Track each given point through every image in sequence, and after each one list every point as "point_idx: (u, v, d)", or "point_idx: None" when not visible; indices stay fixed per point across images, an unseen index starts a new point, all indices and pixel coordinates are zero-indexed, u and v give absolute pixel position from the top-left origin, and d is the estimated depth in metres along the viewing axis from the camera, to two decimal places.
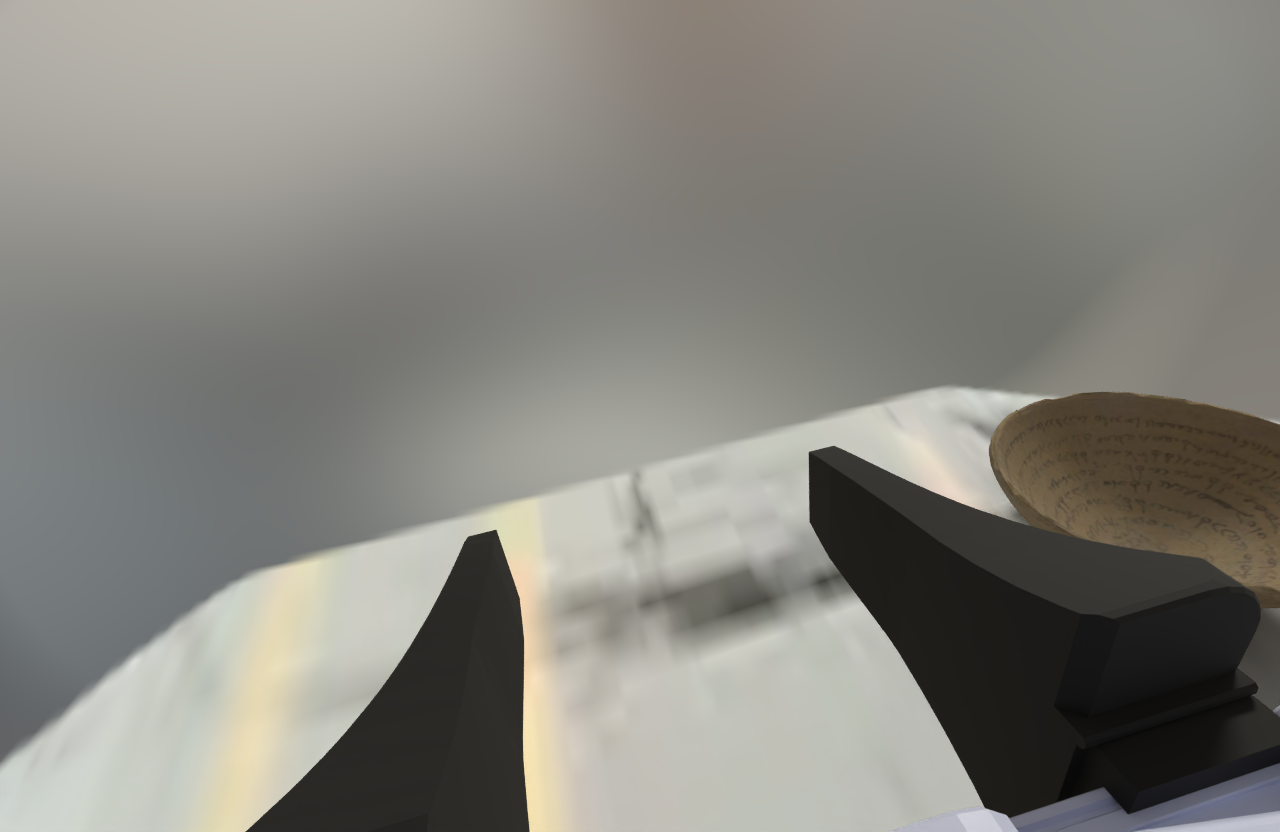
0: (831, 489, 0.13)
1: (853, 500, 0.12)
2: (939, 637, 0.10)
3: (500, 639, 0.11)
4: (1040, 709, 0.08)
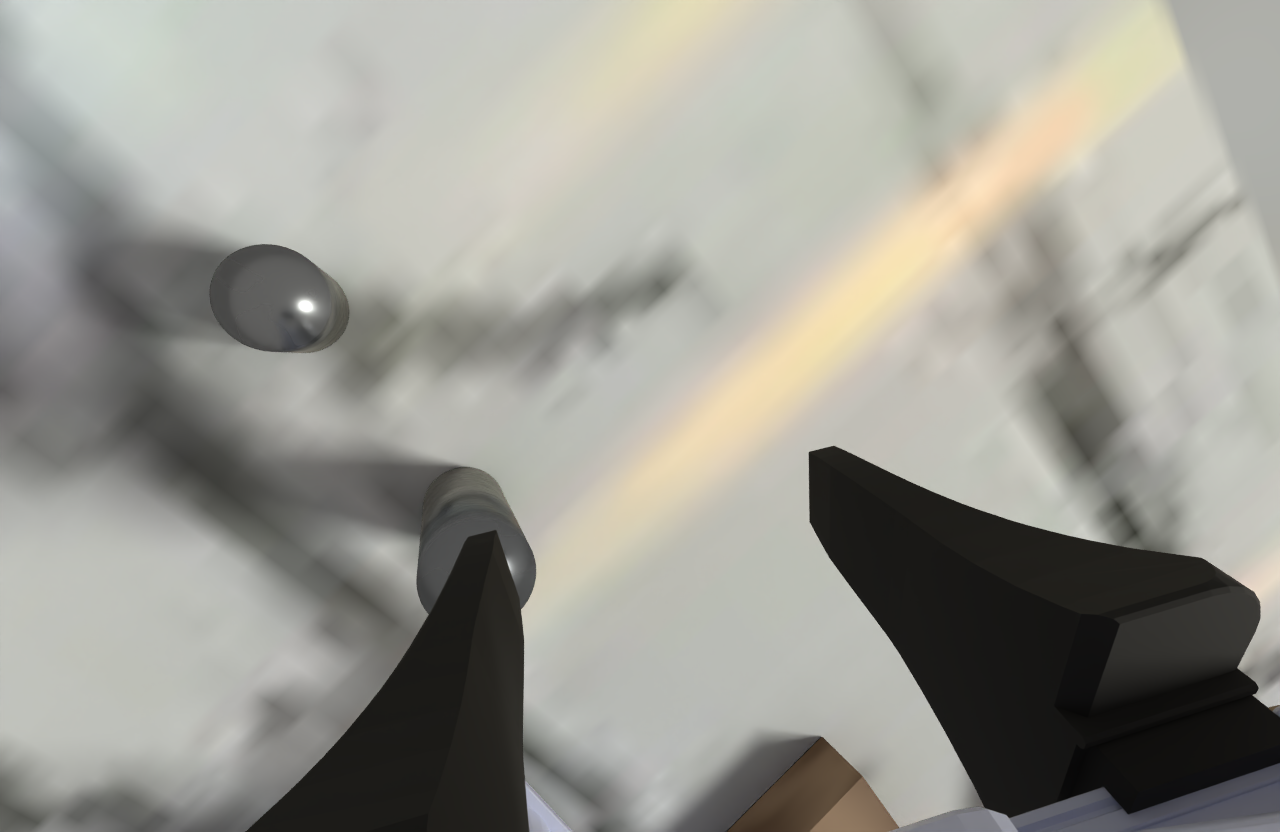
0: (831, 489, 0.13)
1: (853, 500, 0.12)
2: (939, 637, 0.10)
3: (500, 639, 0.11)
4: (1040, 709, 0.08)
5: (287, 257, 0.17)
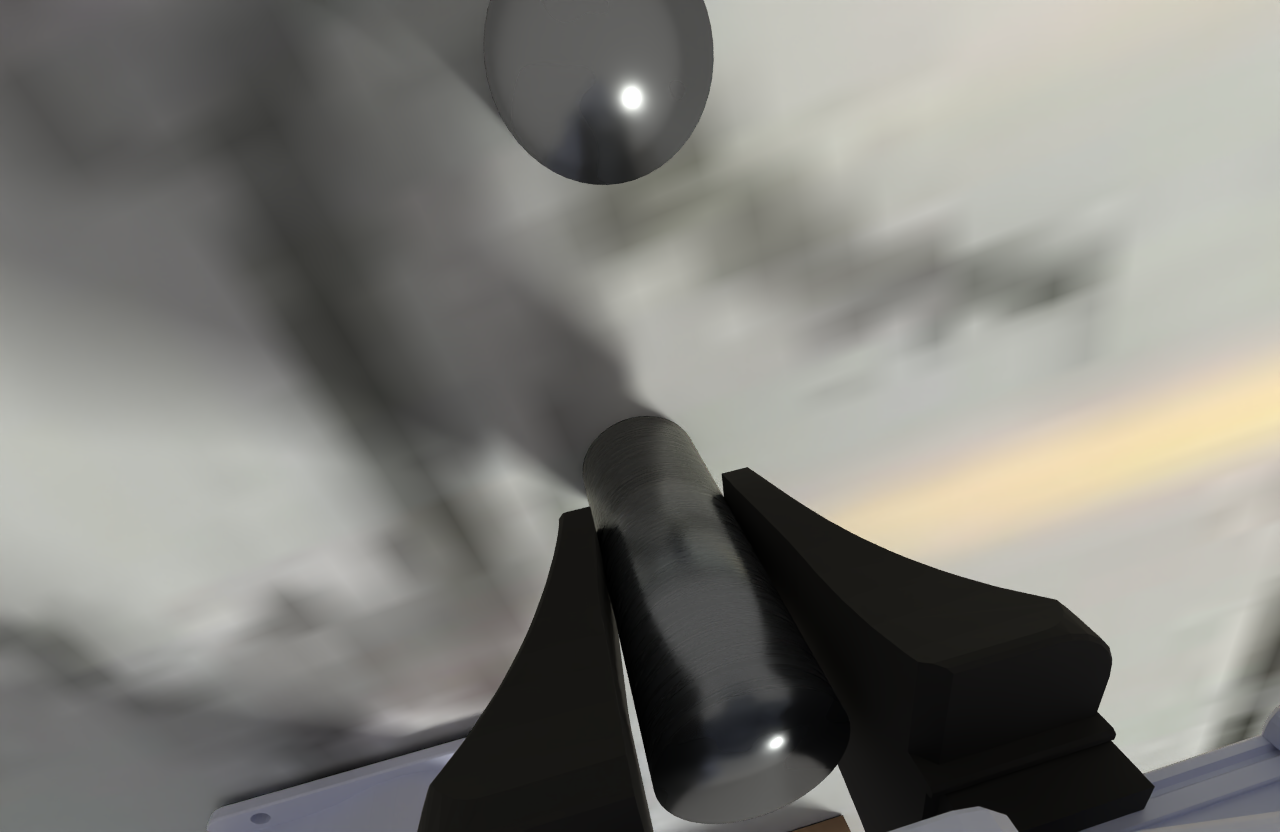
0: (739, 512, 0.13)
1: (755, 525, 0.12)
2: (826, 670, 0.10)
3: (607, 611, 0.11)
4: (898, 753, 0.08)
5: None
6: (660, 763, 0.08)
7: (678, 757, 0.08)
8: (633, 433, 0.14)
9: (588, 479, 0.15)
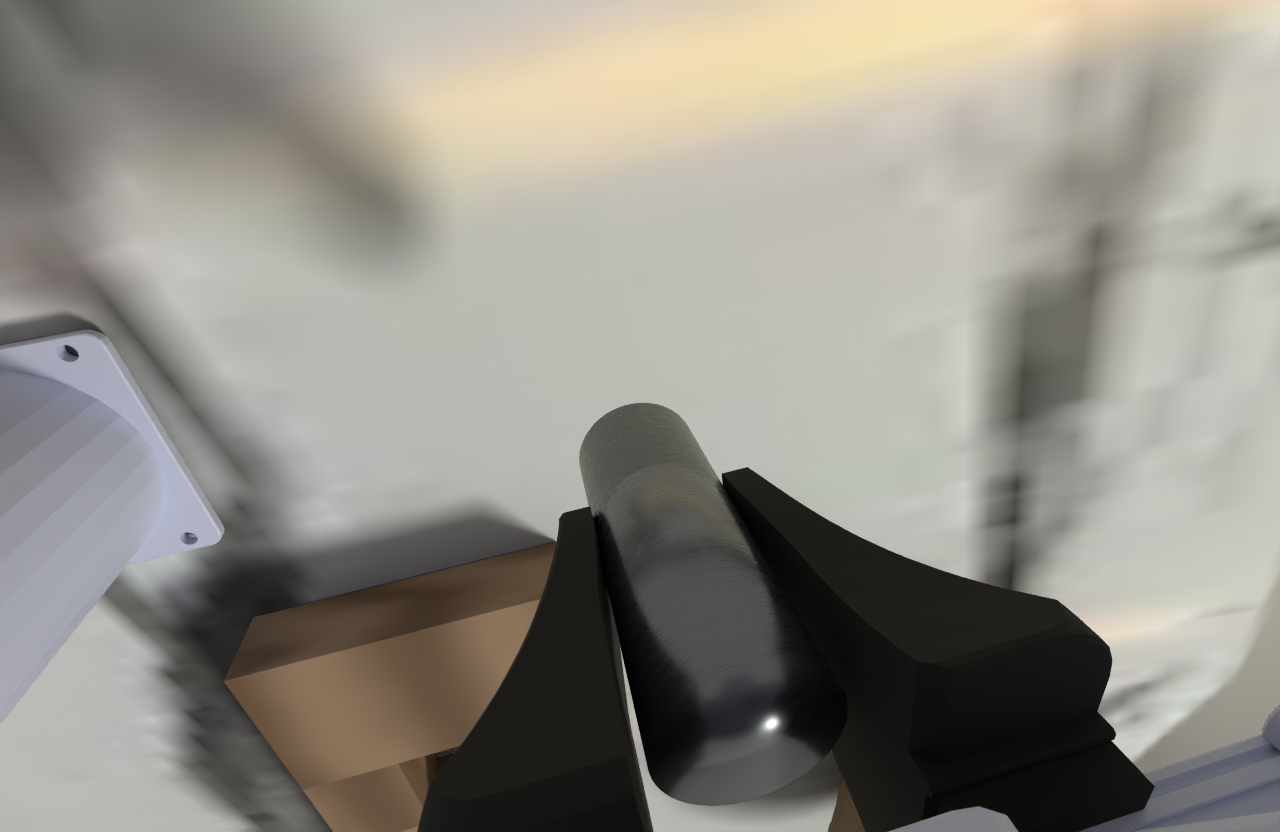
0: (739, 512, 0.13)
1: (755, 525, 0.12)
2: None
3: (608, 611, 0.11)
4: (898, 753, 0.08)
5: None
6: (650, 752, 0.08)
7: (668, 744, 0.08)
8: (620, 422, 0.14)
9: (583, 474, 0.14)
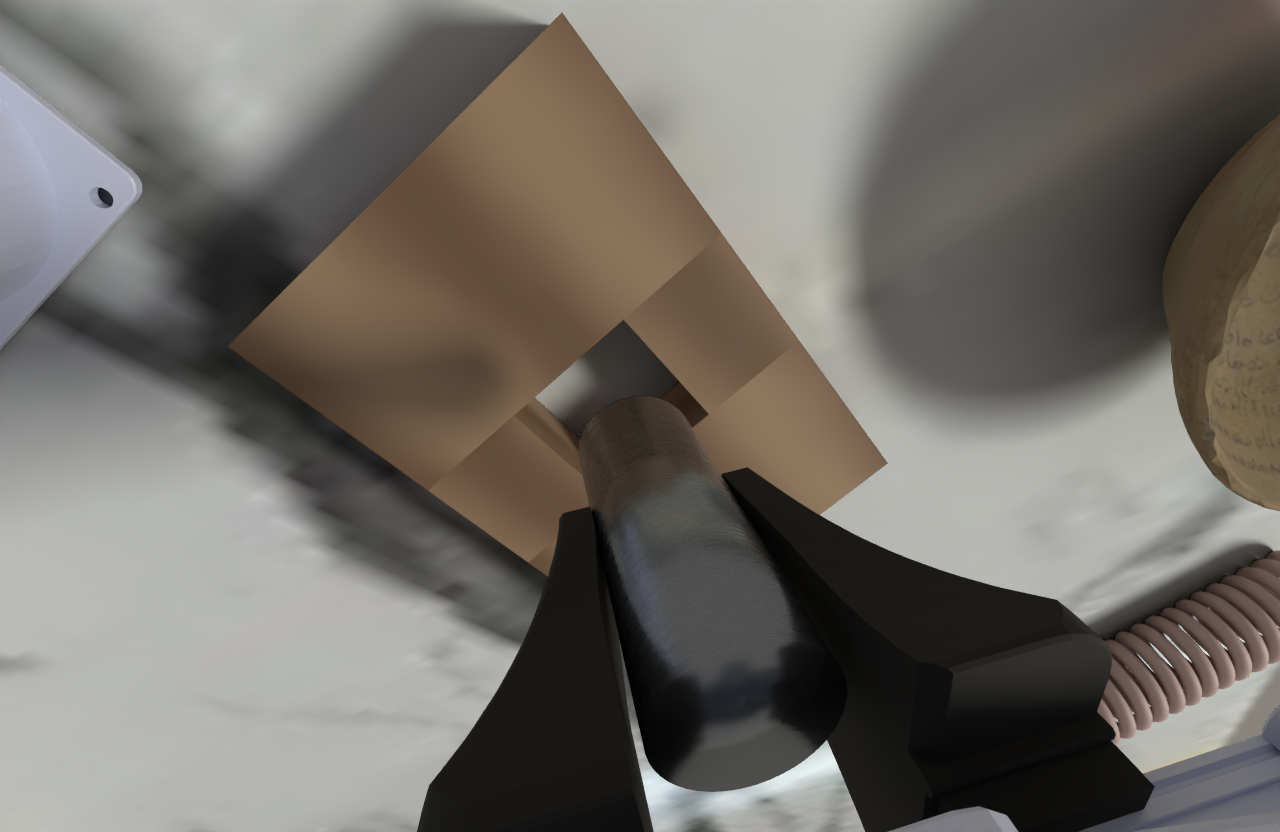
0: None
1: (755, 525, 0.12)
2: None
3: (607, 611, 0.11)
4: (899, 753, 0.08)
5: None
6: (649, 723, 0.08)
7: (667, 717, 0.08)
8: (626, 412, 0.14)
9: (583, 460, 0.14)
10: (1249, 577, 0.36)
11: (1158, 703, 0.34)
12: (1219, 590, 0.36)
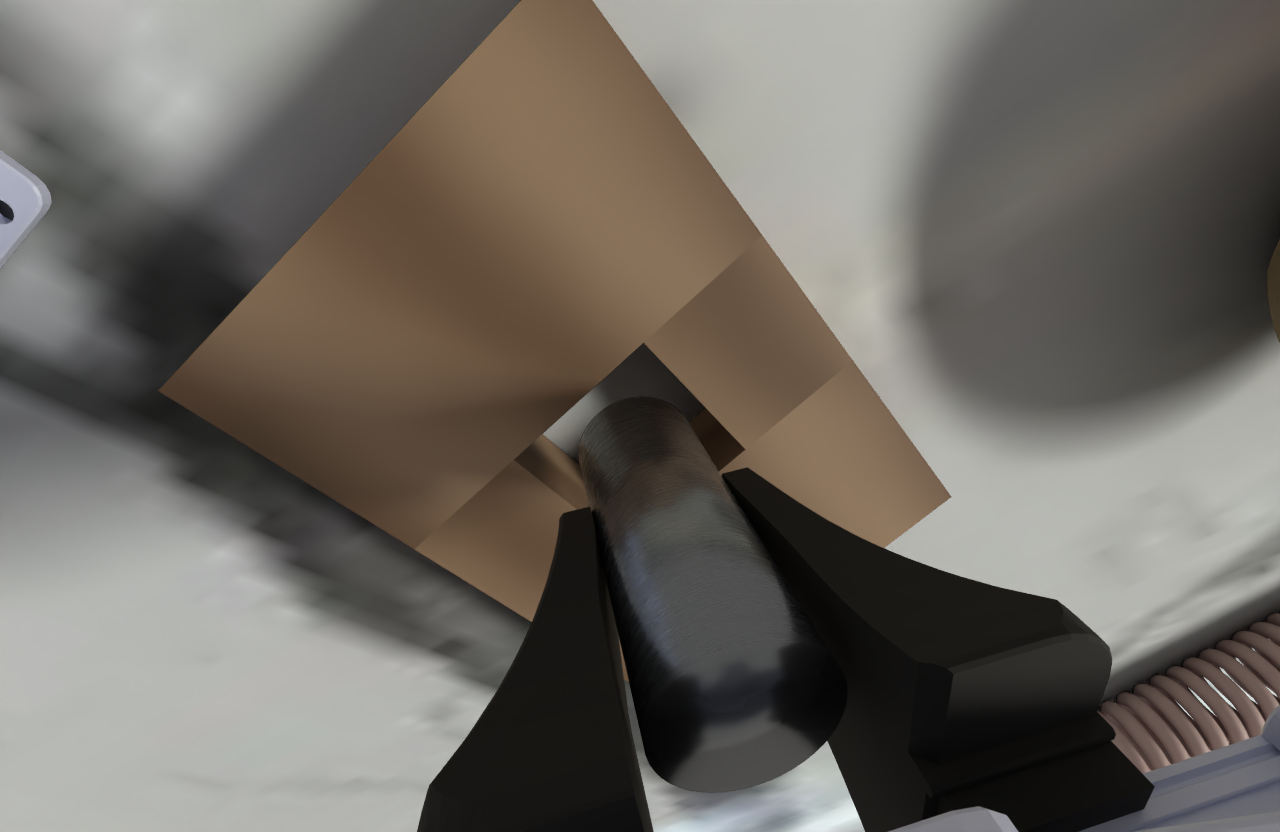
0: None
1: (755, 525, 0.12)
2: None
3: (608, 610, 0.11)
4: (898, 753, 0.08)
5: None
6: (649, 724, 0.08)
7: (668, 718, 0.08)
8: (626, 412, 0.14)
9: (583, 461, 0.14)
10: None
11: (1239, 740, 0.30)
12: None
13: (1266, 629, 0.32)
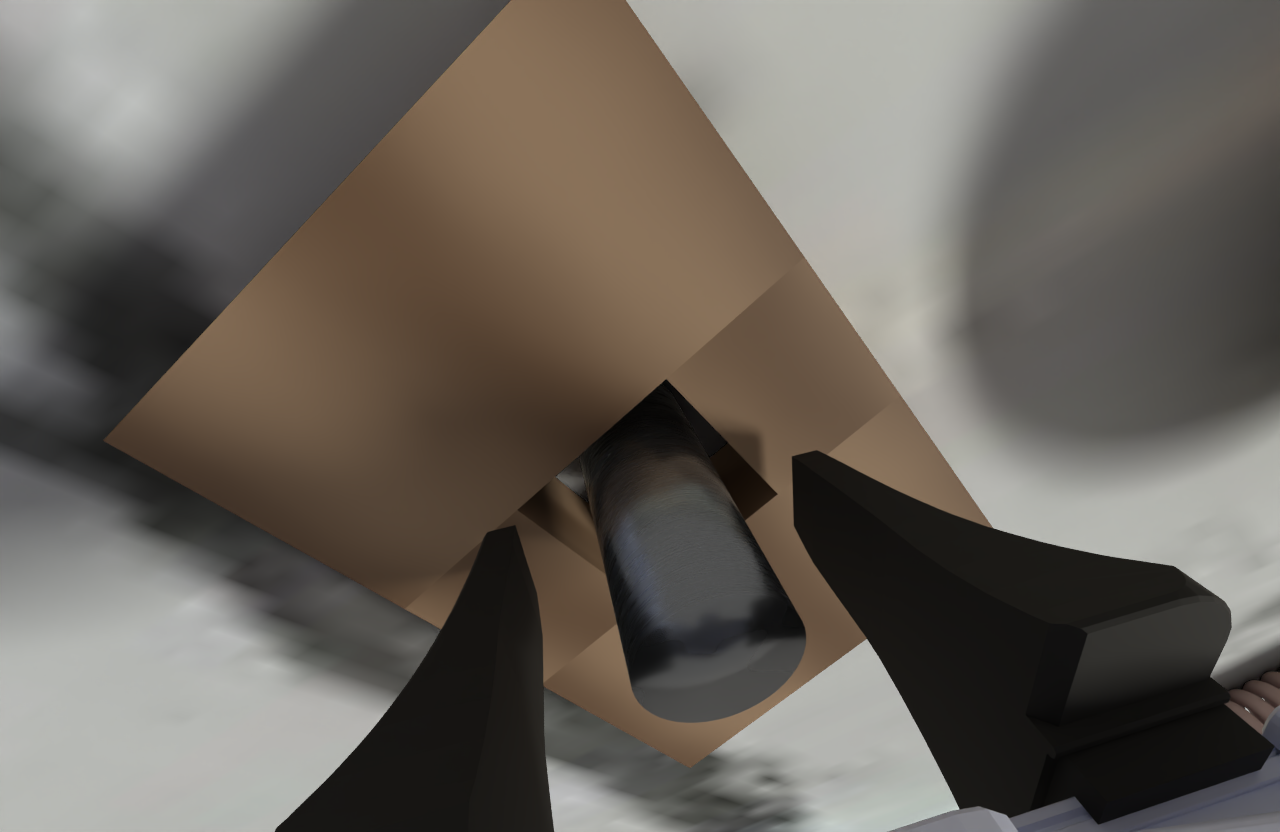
0: (813, 494, 0.13)
1: (834, 505, 0.12)
2: (917, 643, 0.10)
3: (522, 633, 0.11)
4: (1013, 717, 0.08)
5: None
6: (635, 663, 0.09)
7: (651, 658, 0.09)
8: None
9: None
10: None
11: None
12: None
13: None
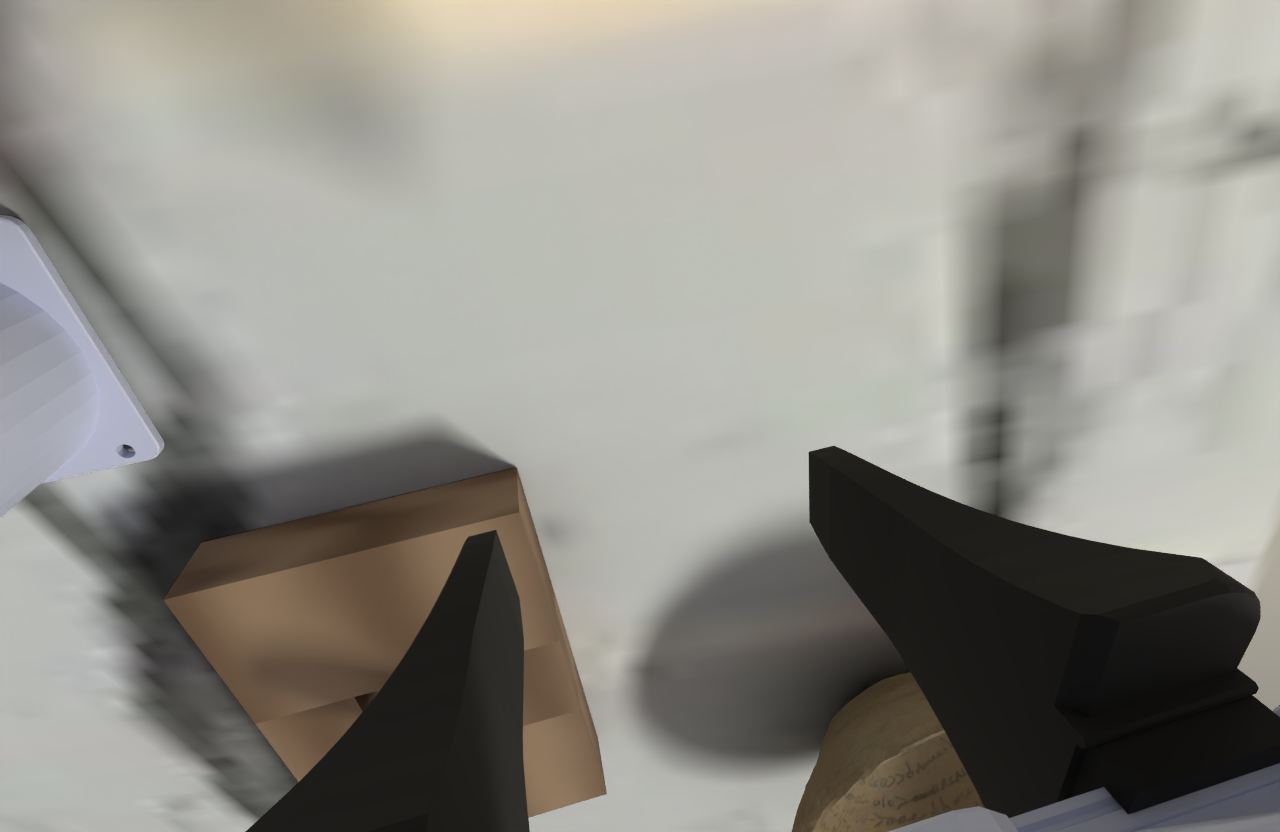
0: (831, 489, 0.13)
1: (853, 500, 0.12)
2: (939, 637, 0.10)
3: (500, 639, 0.11)
4: (1040, 709, 0.08)
5: None
6: None
7: None
8: None
9: None
10: None
11: None
12: None
13: None
